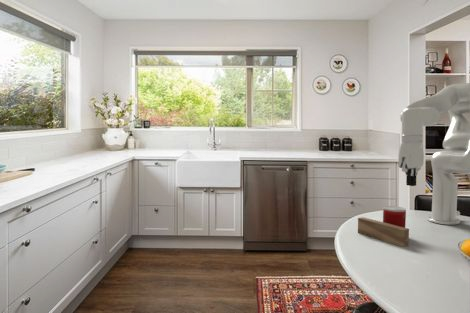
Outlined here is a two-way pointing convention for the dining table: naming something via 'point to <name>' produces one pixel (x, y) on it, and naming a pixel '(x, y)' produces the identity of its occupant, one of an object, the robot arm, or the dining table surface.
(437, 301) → the dining table surface
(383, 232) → the walnut board
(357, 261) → the dining table surface
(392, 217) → the canned food
